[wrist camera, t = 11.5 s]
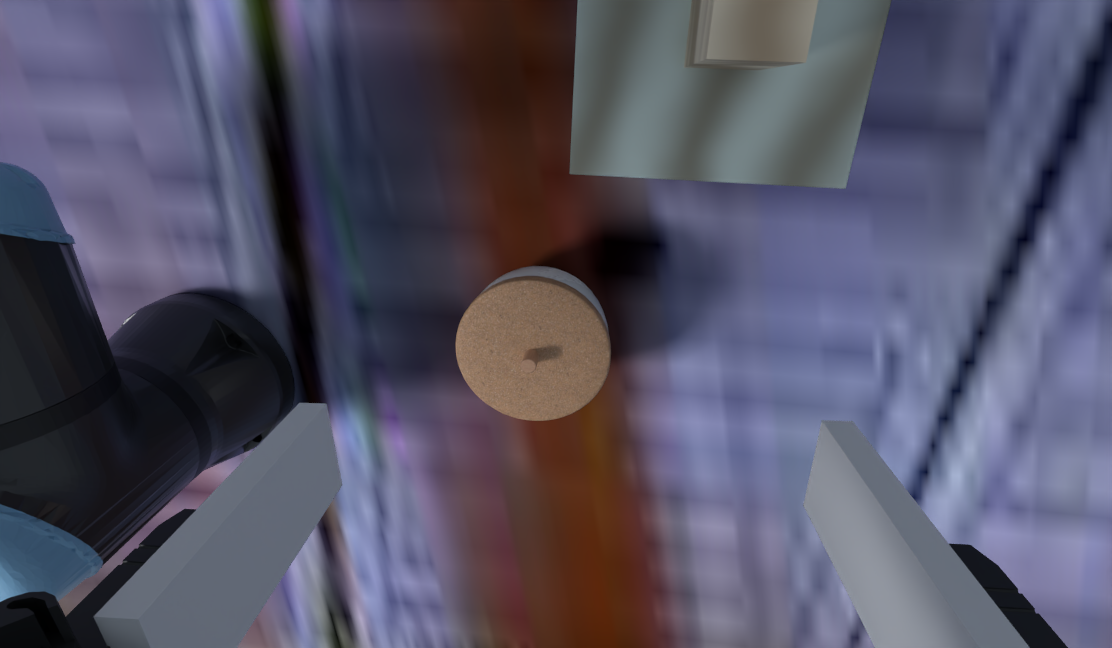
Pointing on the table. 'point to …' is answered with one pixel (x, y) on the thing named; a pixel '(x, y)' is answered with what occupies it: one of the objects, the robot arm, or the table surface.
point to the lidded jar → (534, 344)
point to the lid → (723, 88)
